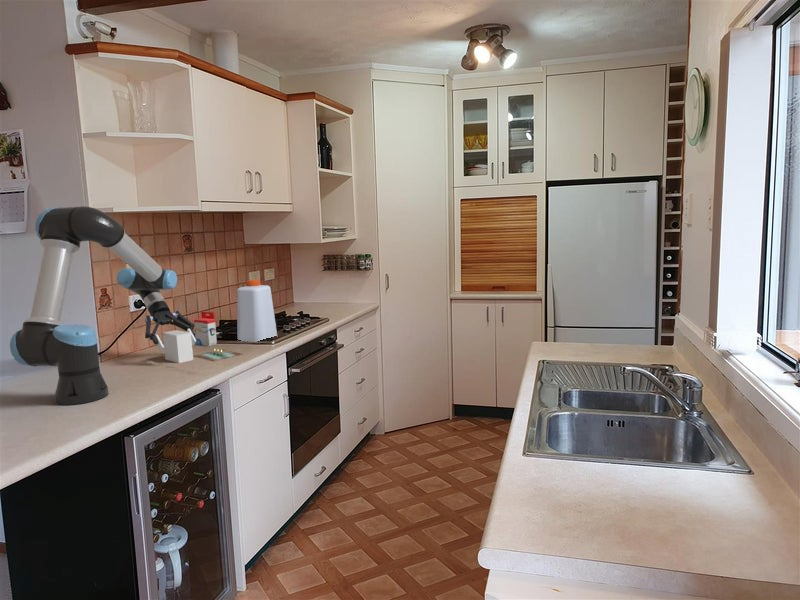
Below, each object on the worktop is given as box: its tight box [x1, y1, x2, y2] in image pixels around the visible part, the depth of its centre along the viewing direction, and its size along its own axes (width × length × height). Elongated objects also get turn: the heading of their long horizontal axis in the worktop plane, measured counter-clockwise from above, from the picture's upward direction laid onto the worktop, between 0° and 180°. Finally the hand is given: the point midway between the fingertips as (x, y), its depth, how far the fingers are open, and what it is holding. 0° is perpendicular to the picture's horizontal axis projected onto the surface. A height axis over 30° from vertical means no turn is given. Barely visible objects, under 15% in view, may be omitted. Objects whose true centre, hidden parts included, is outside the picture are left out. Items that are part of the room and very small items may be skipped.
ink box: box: [193, 311, 218, 347], centre depth 266 cm, size 8×5×15 cm, turn 62°
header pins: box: [212, 347, 223, 356], centre depth 238 cm, size 1×6×2 cm, turn 49°
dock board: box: [193, 348, 244, 362], centre depth 239 cm, size 14×16×1 cm
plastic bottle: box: [236, 279, 278, 342], centre depth 267 cm, size 15×15×28 cm
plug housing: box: [162, 329, 194, 364], centre depth 233 cm, size 6×11×12 cm, turn 49°
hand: (179, 346), depth 233 cm, fingers open, 13 cm apart
